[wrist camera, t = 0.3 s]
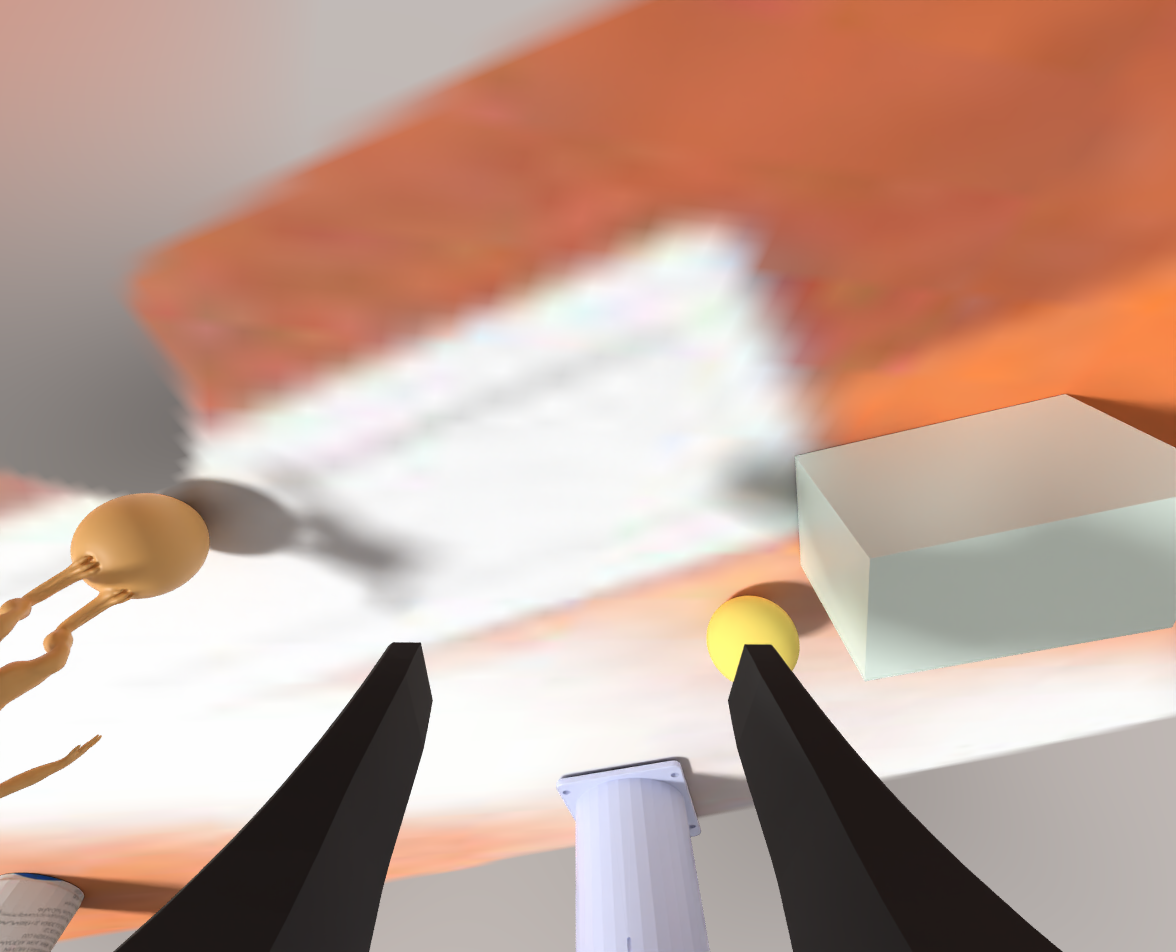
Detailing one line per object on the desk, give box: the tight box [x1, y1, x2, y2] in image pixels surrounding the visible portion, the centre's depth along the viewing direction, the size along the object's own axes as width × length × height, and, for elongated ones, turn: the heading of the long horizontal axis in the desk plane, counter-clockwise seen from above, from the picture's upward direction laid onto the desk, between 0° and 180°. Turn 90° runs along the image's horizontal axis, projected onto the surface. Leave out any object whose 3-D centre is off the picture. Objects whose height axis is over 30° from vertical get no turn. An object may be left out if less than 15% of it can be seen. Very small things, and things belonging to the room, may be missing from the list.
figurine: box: [0, 493, 210, 798], centre depth 16 cm, size 8×6×12 cm
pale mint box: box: [795, 394, 1176, 681], centre depth 19 cm, size 6×10×6 cm, turn 105°
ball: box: [707, 596, 799, 682], centre depth 23 cm, size 4×4×4 cm
